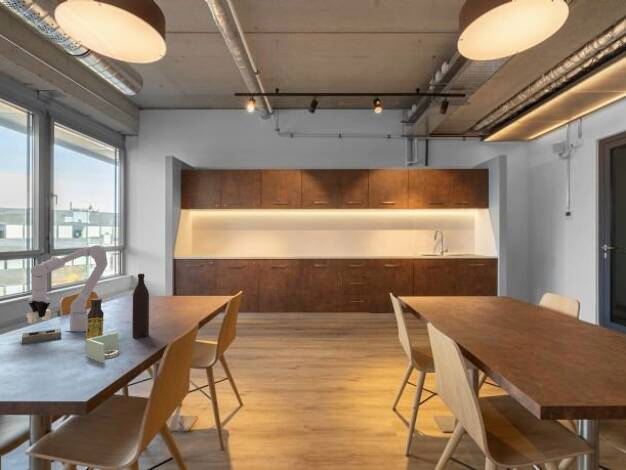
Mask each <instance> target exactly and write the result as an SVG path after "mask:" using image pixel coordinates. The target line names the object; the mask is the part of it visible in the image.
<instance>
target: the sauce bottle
mask: <svg viewBox="0 0 626 470" xmlns="http://www.w3.org/2000/svg"><path fill="white" fill-rule="evenodd" d="M102 301H103V300H102V298H101V297H100V298H91V299H90V303H91V306H90V307H91V308H90V310H89V311H88V312H89V313H88V319H87V331H85V332H86V335H85V337H86V338H85V340H86V339H90V338H94V337H98V336H103V335H104V315H105V314H104V312H103V310H102Z"/></svg>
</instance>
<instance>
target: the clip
mask: <svg viewBox="0 0 626 470" xmlns="http://www.w3.org/2000/svg"><path fill="white" fill-rule="evenodd" d="M51 315H52V309H47V310H46V313H45V316H44V317H41V320H42V321H48V320H49V321H50V320H51ZM26 318H27V324H28V323H29V324H35V323H37V320H38V319H37V318H40V317H39V315H38V311H37V312H33V311H32V312H28V313H26Z"/></svg>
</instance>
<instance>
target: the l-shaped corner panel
mask: <svg viewBox="0 0 626 470" xmlns="http://www.w3.org/2000/svg"><path fill="white" fill-rule="evenodd" d="M85 342H86V343H85V345H86V346H85V357H86V358H88V359H90V358H91V360H93V359H94V360H93V361H96V362H98V361H99V363H101V364H103V363H105V359H113V358H116V357H118V355H119V354H120V353H119V352H120V351H119V332H117V331H116V332H112V333H108V334H103V336H98V337H94V338H90V339H86V338H85Z"/></svg>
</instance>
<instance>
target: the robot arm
mask: <svg viewBox="0 0 626 470" xmlns="http://www.w3.org/2000/svg"><path fill="white" fill-rule="evenodd" d="M81 257H91V258H92V259H93V261H94V262H95V267H94V268H93V271H92V272H91V273H90V276H89V277H88V279H87V280H86V283H85V284H84V286H82V287H83V288H82V289H81V291H80V293H79V294H78V296H77V298H75V299H73V301H72V302H71V304H70V305H69V310H70V312H69V329H67V330H65V332H78V333H79V332H87V319H88V313H89V311H88V309H86V307H87V304H88V302H87V301H88V300H89V298H90V296H91V295H92V292H93V290H94V289H95V287H96V286H97V284H98V282H99V280H100V279H101V276H102V275H103V274H104V271H105V270H106V268H107V266H108V257H107V251H106V250H105V248H104V247H103V246H102V245H100V244H96V245H93V246H89V247H84V248H81V249H79V250H76V251H74V252H72V253H70V254H67V255H65V256H56V255H54V256H52V257H51V258H50V259H48V260H45V261H41V262H40V263H38V264H35V265H34V266H33V267H32V268H31V269H30V273H31V274H32V277H31V278H32V280H31V296H27V301H28V305H29V307H30V308H31V311H32V312H37V311H38V315H39V317H38V318H42V317H44V316H45V313H46V310H48V308H49V306H50V305H51V303H52V298H51V297H48V278H47V276H48V275H47V274H48V273H52V272H54V271H56V270H59V269H61V268H64V267H65V265H66V263H68V262H71V261H73V260H76V259H79V258H81Z"/></svg>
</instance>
